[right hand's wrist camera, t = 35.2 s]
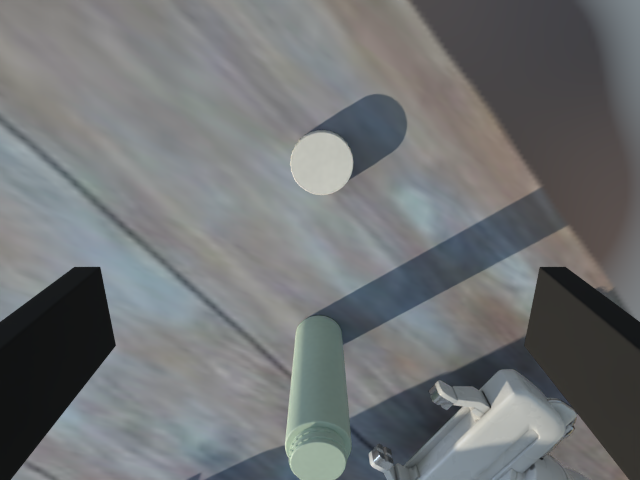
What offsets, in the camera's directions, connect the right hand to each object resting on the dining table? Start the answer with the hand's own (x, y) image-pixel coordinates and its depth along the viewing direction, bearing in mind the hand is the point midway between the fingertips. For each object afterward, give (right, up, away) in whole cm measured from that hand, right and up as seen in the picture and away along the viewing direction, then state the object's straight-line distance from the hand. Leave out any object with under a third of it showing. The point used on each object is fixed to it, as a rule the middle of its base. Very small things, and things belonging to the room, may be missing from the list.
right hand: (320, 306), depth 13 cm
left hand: (+8, -15, +27) cm, 32 cm away
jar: (0, -8, +32) cm, 33 cm away
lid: (0, +9, +24) cm, 26 cm away
